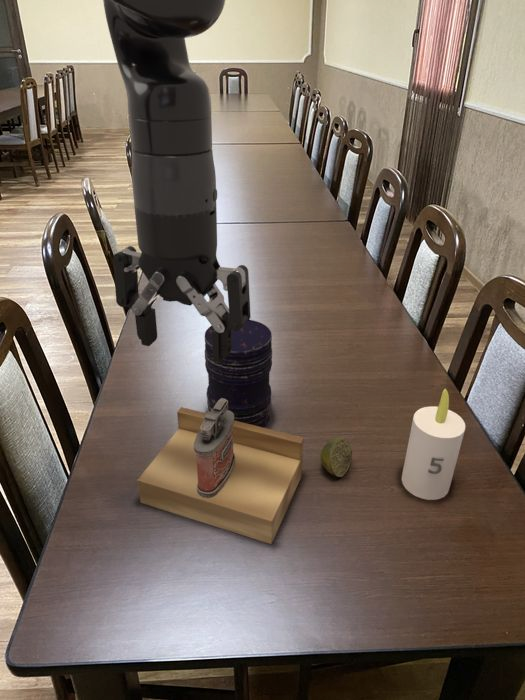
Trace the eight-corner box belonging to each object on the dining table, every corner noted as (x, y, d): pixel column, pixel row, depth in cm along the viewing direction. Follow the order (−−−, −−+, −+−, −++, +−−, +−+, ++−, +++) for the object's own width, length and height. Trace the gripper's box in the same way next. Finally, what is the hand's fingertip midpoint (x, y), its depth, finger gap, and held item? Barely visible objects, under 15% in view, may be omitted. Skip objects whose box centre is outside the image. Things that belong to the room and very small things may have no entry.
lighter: (216, 501, 64) (213, 437, 59) (190, 494, 65) (185, 430, 60) (240, 457, 71) (239, 396, 66) (216, 451, 72) (214, 390, 67)
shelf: (271, 544, 64) (272, 502, 60) (140, 502, 69) (134, 462, 66) (301, 476, 74) (303, 437, 70) (184, 444, 79) (181, 406, 75)
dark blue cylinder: (266, 396, 89) (268, 316, 82) (275, 434, 81) (277, 350, 73) (206, 400, 88) (202, 320, 80) (209, 439, 80) (204, 354, 72)
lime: (350, 459, 77) (353, 431, 74) (352, 483, 72) (356, 455, 70) (319, 457, 77) (321, 429, 74) (319, 481, 73) (321, 453, 70)
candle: (403, 497, 70) (421, 406, 63) (400, 463, 76) (417, 375, 68) (452, 504, 70) (477, 412, 62) (446, 468, 75) (468, 380, 67)
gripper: (85, 200, 49) (107, 353, 57) (229, 221, 44) (231, 383, 53) (131, 182, 55) (145, 323, 63) (262, 198, 50) (258, 347, 59)
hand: (184, 350), depth 58 cm, fingers open, 8 cm apart
